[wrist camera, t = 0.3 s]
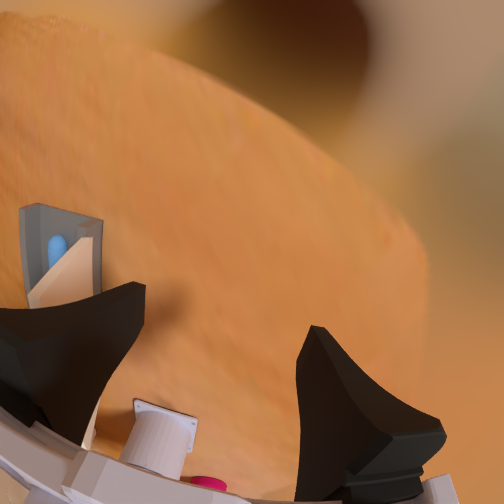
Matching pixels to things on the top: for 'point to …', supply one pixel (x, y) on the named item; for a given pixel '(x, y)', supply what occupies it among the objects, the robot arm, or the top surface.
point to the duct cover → (68, 292)
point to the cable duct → (43, 228)
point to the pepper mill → (209, 483)
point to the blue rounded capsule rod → (56, 249)
